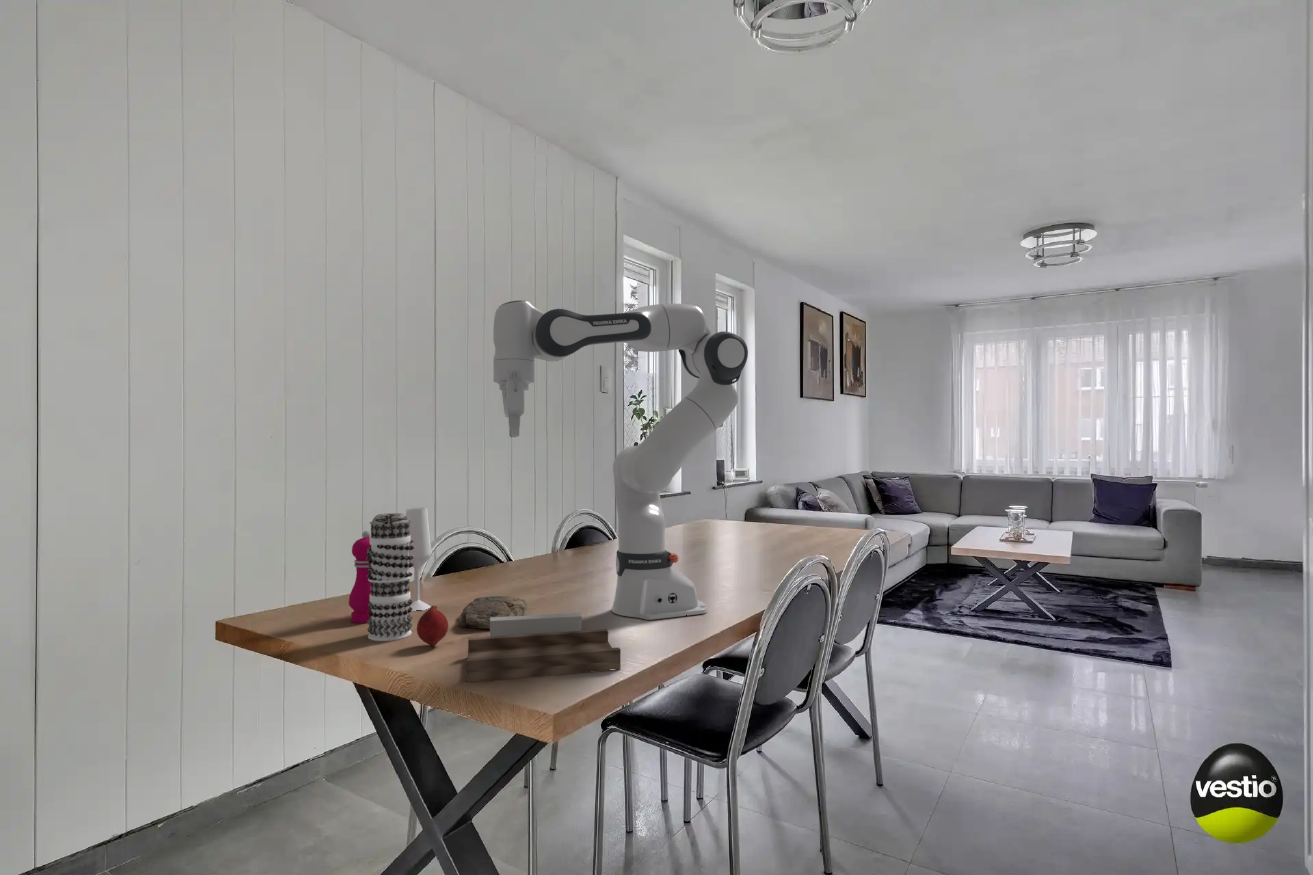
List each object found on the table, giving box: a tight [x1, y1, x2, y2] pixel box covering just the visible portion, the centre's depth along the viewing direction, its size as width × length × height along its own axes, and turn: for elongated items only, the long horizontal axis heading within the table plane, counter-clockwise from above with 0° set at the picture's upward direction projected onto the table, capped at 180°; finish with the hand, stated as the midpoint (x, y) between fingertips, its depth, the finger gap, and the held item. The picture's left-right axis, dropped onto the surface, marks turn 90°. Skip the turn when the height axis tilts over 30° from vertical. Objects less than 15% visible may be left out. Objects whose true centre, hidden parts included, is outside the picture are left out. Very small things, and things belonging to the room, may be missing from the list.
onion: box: [416, 604, 449, 647], centre depth 136 cm, size 6×6×8 cm
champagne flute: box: [405, 506, 432, 612], centre depth 168 cm, size 7×7×24 cm
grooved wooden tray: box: [466, 628, 621, 683], centre depth 125 cm, size 26×14×4 cm, turn 104°
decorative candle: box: [366, 512, 414, 642], centre depth 144 cm, size 9×9×25 cm
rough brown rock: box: [458, 595, 528, 630], centre depth 156 cm, size 14×5×20 cm
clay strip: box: [489, 612, 583, 637], centre depth 140 cm, size 18×3×5 cm, turn 102°
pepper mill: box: [348, 530, 371, 624], centre depth 157 cm, size 7×7×20 cm
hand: (514, 436), depth 154 cm, fingers open, 8 cm apart
